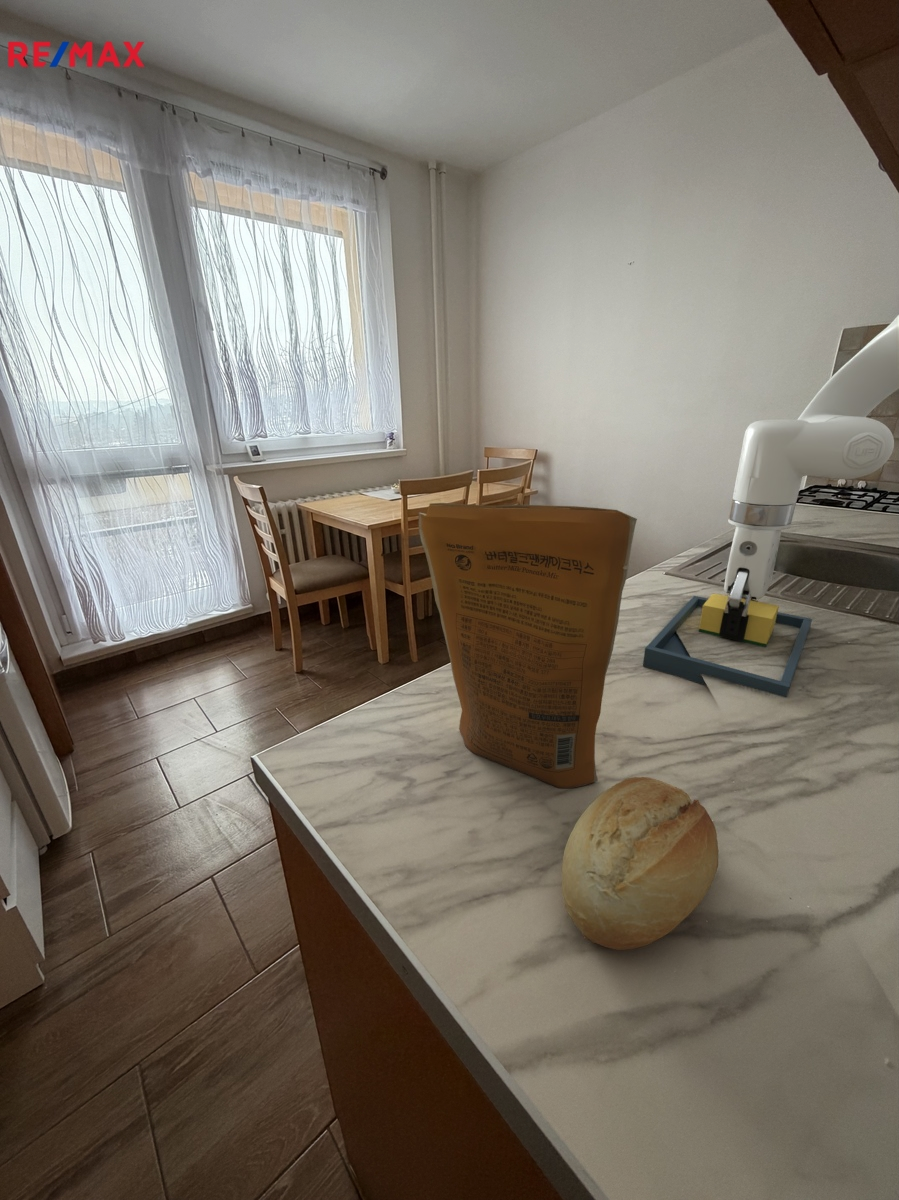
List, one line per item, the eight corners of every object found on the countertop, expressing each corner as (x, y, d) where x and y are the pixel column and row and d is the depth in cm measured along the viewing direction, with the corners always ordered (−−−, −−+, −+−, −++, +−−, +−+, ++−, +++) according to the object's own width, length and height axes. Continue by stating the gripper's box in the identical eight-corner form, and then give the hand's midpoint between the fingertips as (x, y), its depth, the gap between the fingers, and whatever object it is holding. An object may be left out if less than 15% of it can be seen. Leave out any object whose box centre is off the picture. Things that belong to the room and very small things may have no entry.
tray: (691, 611, 86) (694, 595, 85) (807, 636, 75) (812, 618, 74) (642, 666, 69) (644, 647, 68) (783, 708, 59) (789, 687, 57)
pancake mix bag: (596, 818, 44) (625, 517, 34) (428, 748, 54) (411, 499, 44) (617, 773, 49) (648, 500, 39) (460, 716, 60) (451, 487, 49)
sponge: (707, 621, 79) (713, 593, 77) (771, 635, 74) (779, 605, 72) (697, 634, 75) (703, 605, 73) (765, 650, 70) (772, 619, 68)
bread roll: (734, 858, 40) (753, 783, 37) (658, 1010, 30) (676, 925, 27) (624, 798, 46) (633, 730, 43) (532, 909, 37) (535, 831, 34)
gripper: (783, 530, 59) (753, 659, 66) (800, 505, 71) (773, 616, 78) (715, 522, 64) (694, 644, 70) (742, 500, 76) (722, 606, 82)
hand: (736, 628), depth 74 cm, fingers closed on sponge, 6 cm apart
